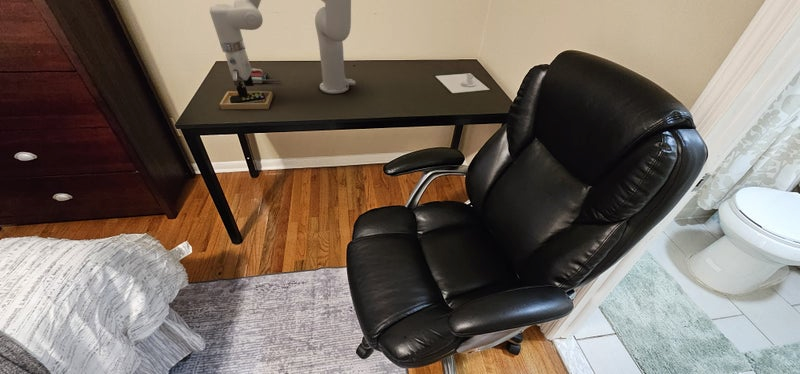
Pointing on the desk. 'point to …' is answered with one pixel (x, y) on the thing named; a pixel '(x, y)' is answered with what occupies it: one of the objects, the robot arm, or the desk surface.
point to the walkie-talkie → (260, 76)
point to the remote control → (249, 98)
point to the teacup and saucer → (461, 83)
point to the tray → (263, 105)
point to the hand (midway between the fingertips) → (246, 91)
